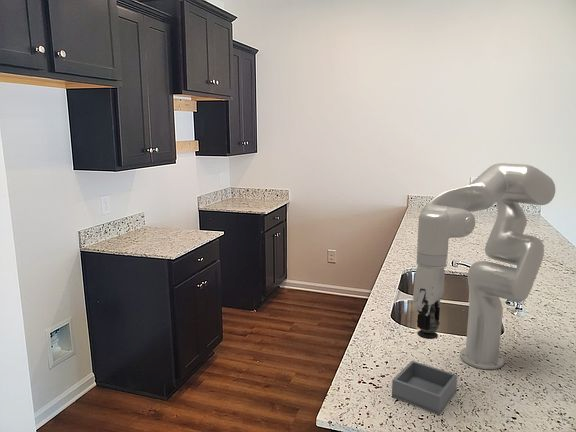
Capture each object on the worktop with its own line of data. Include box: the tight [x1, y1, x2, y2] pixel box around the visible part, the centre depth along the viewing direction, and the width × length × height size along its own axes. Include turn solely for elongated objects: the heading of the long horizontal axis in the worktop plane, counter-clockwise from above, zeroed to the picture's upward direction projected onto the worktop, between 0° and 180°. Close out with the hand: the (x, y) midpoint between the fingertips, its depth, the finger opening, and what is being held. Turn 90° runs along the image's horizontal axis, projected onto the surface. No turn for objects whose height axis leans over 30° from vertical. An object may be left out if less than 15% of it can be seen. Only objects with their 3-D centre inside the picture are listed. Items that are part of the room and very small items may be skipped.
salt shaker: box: [417, 300, 441, 340], centre depth 119 cm, size 6×6×12 cm
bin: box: [391, 360, 458, 416], centre depth 123 cm, size 13×13×5 cm
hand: (428, 323), depth 119 cm, fingers closed on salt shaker, 5 cm apart
